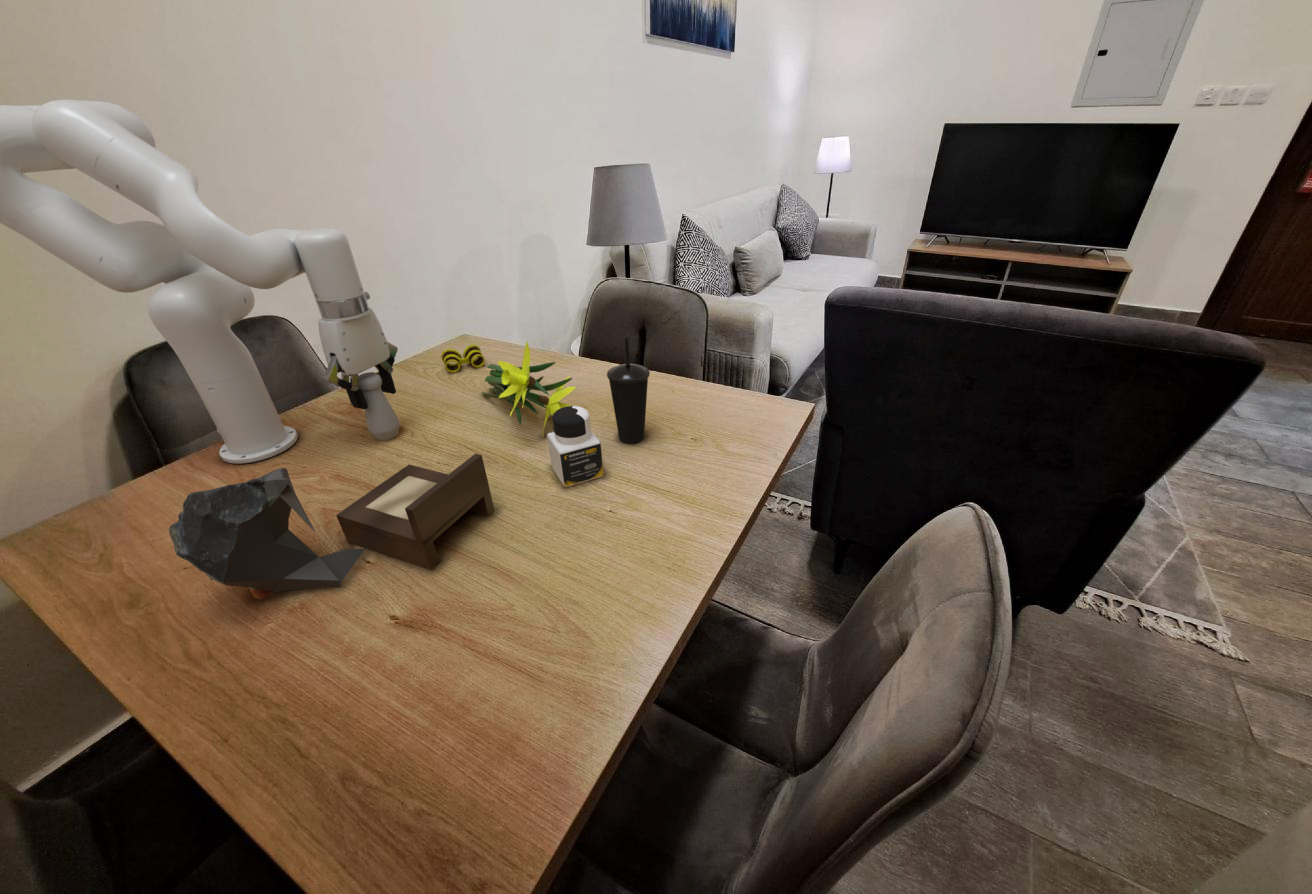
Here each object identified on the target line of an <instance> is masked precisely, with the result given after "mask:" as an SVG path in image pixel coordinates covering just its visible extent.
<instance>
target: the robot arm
mask: <svg viewBox="0 0 1312 894" xmlns="http://www.w3.org/2000/svg"><path fill="white" fill-rule="evenodd" d="M156 146H157V145H156V140H155V137H154V135H153V133H152V131H151V129H150V128H149V127H148V125H147V124H146V123H145V122H144V121H143V120H142V119H141V118H140V117H138V116H137V115H136V114H135V113H133V112H132V111H130V110H129V109H127V108H125V107H123V106H121V105H119V104H116V103H113V102H108V101H102V100H82V99H57V100H51V101H48V102H46V103H43V104H35V105H34V104H32V105H31V104H29V105H28V104H26V105H24V104H22V105H20V104H0V224H1V225H3V226H4V227H7V228H8V229H10V230H12V231H14V232H15V233H17V234H19V235H21V236H22V237H24V238H26V239H27V240H29V241H31V242H32V243H34V244H36V245H37V246H39V247H40V248H41V249H43V250H45V251H46V252H48V253H49V254H51V255H53V256H54V257H56V258H58V259H59V260H61V261H63V262H64V263H66V264H68V265H69V266H71V267H72V268H74V269H76V270H77V271H79V272H81V273H82V274H84V275H85V276H87V277H89V278H90V279H92V280H94V281H96V282H97V283H99V284H100V285H102V286H104V287H106V288H108V289H110V290H113V291H116V292H119V293H125V294H126V293H135V292H136V293H137V292H139V291H140V292H141V291H143V290H144V291H145V290H146V289H149V288H152V287H155V286H156V285H159V284H161V283H164V284H163V285H162V286H160V287H159V288H157V289H156V290H155V291H154V292H153V293H152V295H151V296H150V298H149V300H148V304H147V311H148V316H149V319H150V320H151V321H150V322H151V323H152V325H153V326H154V328H155V329H156V330H157V331H158V333H159V335H161V336H162V337H163V338H164V340H165V341H166V342H167V343H168V345H169V346H170V347H171V348H172V350H173V351H174V352H175V355H176V356H177V357H178V359H179V361H180V362H181V364H182V366H183V368H184V370H185V371H186V373H187V375H188V377H189V379H190V381H191V382H192V384H193V386H194V388H195V390H196V392H197V393H198V395H199V397H200V399H201V401H202V402H203V405H204V407H205V408H206V411H207V412H208V414H209V416H210V418H211V420H212V421H213V423H214V425H215V427H216V431H217V433H218V434H219V435H220V437H221V439H222V440H223V442H224V444H222V446H221V447H220V449H218V450H219V451H218V455H219V457H220V459H221V460H222V461H223V462H226V463H228V464H235V465H236V464H237V465H238V464H240V465H242V464H249V463H255V462H260V461H264V460H266V459H270V458H273V457H274V456H277V455H279V454H281V453H283V452H286V451H287V450H288V449H290V448H291V447H292V446H294V445H295V443H297V441H298V438H299V434H298V432H297V430H296V429H295V428H294V427H291V426H289V425H288V426H287V425H284V423H283V421H282V419H281V417H280V414H279V413H278V410H277V408H276V407H275V404H274V402H273V400H272V397H271V395H270V393H269V391H268V389H267V386H266V384H265V382H264V379H263V377H262V376H261V373H260V371H259V368H258V367H257V365H256V363H255V360H254V358H253V356H252V354H251V352H250V351H249V349H248V347H247V346H246V345H245V344H244V343H243V341H242V340H241V339H240V338H239V337H238V336H237V335H236V334H235V333H234V331H233V330H232V329H231V327H232V326H233V325H235V324H237V323H238V322H239V321H242V320H243V319H244V318H246V317H247V316H248V315H249V314H250V313H251V312H252V311H253V309H254V307H255V303H256V300H255V295H254V291H253V290H252V288H254V289H259V290H269V289H270V290H271V289H275V288H276V287H279V286H281V285H282V284H284V283H286V282H288V281H289V280H291V279H294V278H296V277H298V276H300V275H303V274H305V275H306V278H307V280H308V283H309V285H310V288H311V292H312V294H313V297H314V300H315V302H316V306H317V308H318V311H319V314H320V316H321V318H319V319H318V320H317V323H318V333H319V337H320V338H319V339H320V343H321V347H322V350H323V354H324V357H325V360H326V364H327V366H326V367H327V368H326V370H325V372H324V375H323V380H324V382H327V383H330V384H332V385H334V386H337V387H339V388H341V389H342V390H345V391H346V393H347V396H348V399H349V402H350V404H351V406H352V407H353V408H356V409H360V410H364V411H365V409H367V408H368V405H367V402H366V399H365V397H364V394H363V391H362V389H359V388H358V376H359V375H360V374H362V373H363V372H365V371H367V370H370V369H372V368H375V369H376V370H377V371H378V372H376V373H377V374H379V375H380V377H381V379H382V385H381V386H380V388H381V390H382V391H383V393H385V394H386V393H387V394H390V395H391V394H392V395H394V394H396V393H397V389H396V387H395V381H394V379H393V376H392V373H394V369H393V366H394V363H395V361H396V355H397V353H398V350H399V348H398V346H396V345H394V344H393V343H391V342H389V341H387V338H386V335H385V332H384V330H383V328H382V325H381V323H380V321H379V319H378V317H377V315H376V313H375V311H374V309H373V308H371V307H370V306H369V303H368V301H369V300H370V299H371V295H370V293H368V292H367V291H364V287H363V284H362V281H361V277H360V274H359V271H358V268H357V264H356V261H355V258H354V255H353V252H352V249H351V245H350V242H349V239H348V237H347V235H346V234H345V232H343V231H342V230H340V229H338V228H331V227H329V228H327V227H326V228H325V227H324V228H313V229H307V230H304V229H303V230H302V229H293V228H292V229H291V228H281V227H280V228H270V229H265V230H264V231H263V230H262V231H260V232H257V233H254V234H252V235H248V234H246V233H245V232H243V231H242V230H240V229H238V228H236V227H235V226H233V225H231V224H230V223H228V222H227V221H225V220H224V219H222V218H221V217H219V216H218V215H216V214H215V213H214V212H212V210H210V209H209V208H208V207H207V206H206V205H205V204H204V202H203V201H202V200H201V198H200V197H199V195H198V191H199V180H198V179H197V176H196V175H195V174H194V172H193V171H192V170H191V169H189V168H188V167H187V166H185V165H183V164H181V163H180V162H179V161H176V160H175V159H173V158H172V157H170V156H169V155H167V154H165V153H164V152H162V151H161V150H159V149H158V148H157V147H156ZM75 169H76V170H78V171H79V172H81V173H83V174H84V175H86V176H88V177H90V178H91V179H93V180H95V181H96V182H98V183H100V184H102V185H103V186H105V187H107V188H109V189H110V190H112V191H114V192H116V193H117V194H119V195H120V196H122V197H123V198H126V199H127V200H129V201H130V202H132V203H134V204H136V205H137V206H139V207H141V208H143V209H145V210H146V211H148V212H149V213H151V214H152V215H154V216H155V217H157V218H158V219H159V220H160V221H161V222H162V223H158V222H154V221H149V220H134V221H127V222H123V223H116V222H112V221H110V220H108V219H106V218H105V217H104V216H101V215H100V214H98V213H96V212H94V211H93V210H91V209H90V208H88V207H87V206H86V205H84V204H82V203H81V202H80V201H79V200H77V199H76V198H73V197H72V196H70V195H68V194H66V193H64V192H62V191H60V190H59V189H56V188H53V187H52V186H49V185H46V184H44V183H43V182H39V181H37V180H36V179H33V178H30V177H29V176H27V175H26V174H27V173H39V172H50V171H61V170H75ZM338 373H339V374H340V377H339V376H338Z"/></svg>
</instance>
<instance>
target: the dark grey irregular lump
mask: <svg viewBox="0 0 1312 894" xmlns="http://www.w3.org/2000/svg"><path fill="white" fill-rule="evenodd" d="M292 510H293V511H294V512H295V513H296V514H297V516H299V517H300V518H301V519H302V520H303V521H304V522H305V524H307V526H309V527H310V528H311V529H312V531H313V532H316V530H315V528H314V526H313V524H312V523H311V520H310V519H309V517H308V515H307V513H306V511H305V509H304V507H303V505H302V503H301V501H300V500H299V498H298V496H297V493H296V491H295V489H294V486H293V484H292V481H291V477H290V474H289V470H288V469H287V468H286V467H280V468H277V469H274V470H272V471H270V472H268V473H266V474H264V475H262V476H260V477H257V478H252V479H250V480H247V481H245V482H239V483H235V484H226V485H223V486H219V487H215V488H212V489H205V490H200V491H193V492H190V493H189V494H188V495H187V496H186V498H185V500H184V501H183V504H182V511H180V512H179V514H178V517H177V518H178V520H177V522H174V523H172V524H171V525H170V526H169V528H168V533H169V536H170V538H171V541H172V543H173V546H174V547H173V548H174V552H175V555H176V556H177V557H179V558H180V559H183V560H185V561H187V562H189V563H190V564H191V565H193V567H195V568H197V569H198V571H200V572H201V573H204V574H205V575H206V576H207V577H208V578H209V579H210V580H211V581H214V582H218V583H219V584H220V585H224V586H226V587H237V588H238V587H239V588H249V592H250V594H251V595H252V596H253V598H254V599H259V600H262V599H266V598H267V597H269V596H270V597H271V596H272V595H276V594H279V593H282V592H287V591H303V590H312V589H319V588H320V589H321V588H342V585H341V584H342V583H343V581H344V580H345V578H346V577H347V576H348V574H349V573H350V572H351V570H352V568H354V566H355V565H356V563H357V561H358V560H359V559H360V557H362V555H363V553H364V551H365V550H366V549H367V548H365V547H364V548H346V549H342V550H338V551H335V552H332V553H327V554H324V555H321V556H319V555H318V554H317V553H315V552H314V550H313V549H311V548H310V547H309V546H308V545H307V544H306V543H305V542H303V541H302V540H301V539H300V538H299V537H298V536H297V535H295V534H294V533H293V532H292V531H291V530H290V529H289V525H290V523H289V522H290V515H291V512H292Z"/></svg>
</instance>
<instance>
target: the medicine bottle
mask: <svg viewBox="0 0 1312 894" xmlns="http://www.w3.org/2000/svg"><path fill="white" fill-rule="evenodd" d="M551 420H552V429H553V431H552V432H547V434H546V438H547V445H548V451H549V458H550V465H551V468H552V470H553V472H554V473H555V474H556V476H557V478H558V480H559V481H560V483H561V484H562V485H563V487H564V488H568V487H569V488H570V487H572V486H576V485H579V484H582V483H585V482H589V481H591V480H592V481H593V480H594V479H595V480H596V479H599V478H602V477H604V466H603V455H602V453H603V452H602V443H601V441H600V440H599V438H598V437H597V436H596V435H595V434H594V432H593V430H592V428H591V417H590V412H589V411H588V410H587V409H586V408H584V407H582V406H579V405H571V406H567V407H563V408H560V409H558V410H557V411H555V413H554V414H553V415H551Z"/></svg>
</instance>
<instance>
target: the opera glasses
mask: <svg viewBox="0 0 1312 894" xmlns="http://www.w3.org/2000/svg"><path fill="white" fill-rule="evenodd" d="M440 358H441V361H442V363H443V364H444V369H445V370H446V372H447V371H448V372H450V373H457V372H458V371H460V368H461V366H462V365H464V364H470V365H472V366H473V367H474V368H482V367H483V366H484V365H485V363H486V358H485V356H484V355H483V353H482V350H481V348H480V346H479V345H476V344H471V345H470V344H469V345H468V346H467V347H466V348H465V349H464V350H463V353H462V354H461V353H460V352H459V351H458V350H457V349H452V348H448V349H445V350H444V351H443V352H442V353H441V355H440ZM453 362H454V363H453Z"/></svg>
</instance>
